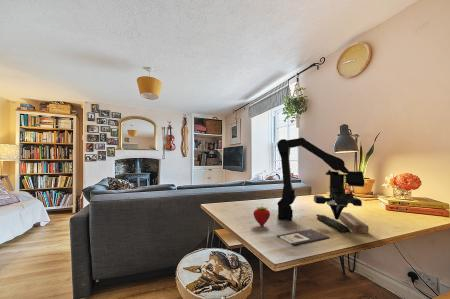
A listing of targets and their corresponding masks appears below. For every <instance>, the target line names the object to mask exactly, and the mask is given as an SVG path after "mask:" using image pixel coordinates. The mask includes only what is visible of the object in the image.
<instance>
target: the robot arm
mask: <svg viewBox="0 0 450 299" xmlns="http://www.w3.org/2000/svg"><path fill="white" fill-rule="evenodd" d="M276 146H277V150H278V153H279V156H280V159H281V160H280V161H281V170H282V172H281V173H282V182H283V183H282V184H283V187H282V188H283V189H282V192H281V194H282V196H281V198H280V199H279V201H278V202H277V220H280V221H293V216H294V212H293V209H292V205H293V203H294V201H295V200H296V198H297V193H296V192H297V188H295V187H294V186H293V184H292V175H291V163H290V155H291V149H293V148H298V147H302V148H304V149H305V150H307V151H309V153H311V154H313V155H315V157H318V158H320V159H321V160H322V161H323V162H324V163H325V164H327V165H328V167H330V168H331V169H332V170H333V171H331V169H328V170H327V171H326V172H325V176H329V186H328V187H329V188H328V189H329V195H328V197H325V196H324V195H317V194H316V195H314V196H313V202H314V203H316V204H318V205H319V204H320V205H325V204H327V205H328V206H329V207H330V209H331V211H332V214H333V217H334V220H336V221H338V220H339V219H338V218H339V216H340V213H341V212H342V211H343V210H344V209H345V208H347V207H348V205H349V204H351V205H353V206H354V207H355V206H356V207H362V206H363V201H362V200H361V199H360V198H358V197H356V196H355V197H354V194H353V193H348V192H347V193H346V189H345V184H347V186H348V187H358V188H364V187H365V178H364V176H365V175H364V172H363V171H362V170H357V171H353V170H352V171H350V170H349V169H348V168H347V167H346V165H345V161H344V159H342V158H340V157H338V156H335V155H333V154H330V153H328V152H326V151H324V150H322V149H321V148H320V147H318V146H317V145H314V144H313V143H311V142H310V141H308V140H307V139H305V138H304V137H299V138H294V139H292V138H291V139H288V140H287V139H285V138H284V139H283V138H282V139H280V140H279V141H278V142H277V144H276ZM339 172H341V173H339Z"/></svg>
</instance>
